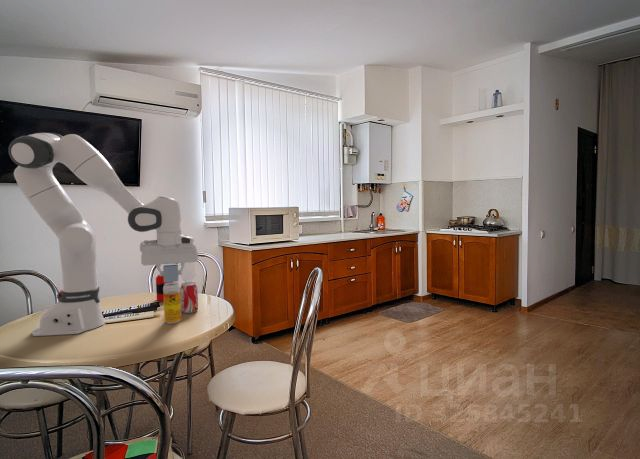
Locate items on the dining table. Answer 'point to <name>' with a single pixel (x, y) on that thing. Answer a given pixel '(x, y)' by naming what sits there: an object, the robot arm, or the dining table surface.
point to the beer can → (172, 302)
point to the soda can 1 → (160, 287)
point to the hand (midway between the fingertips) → (171, 275)
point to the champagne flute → (189, 272)
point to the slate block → (170, 272)
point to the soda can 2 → (189, 297)
